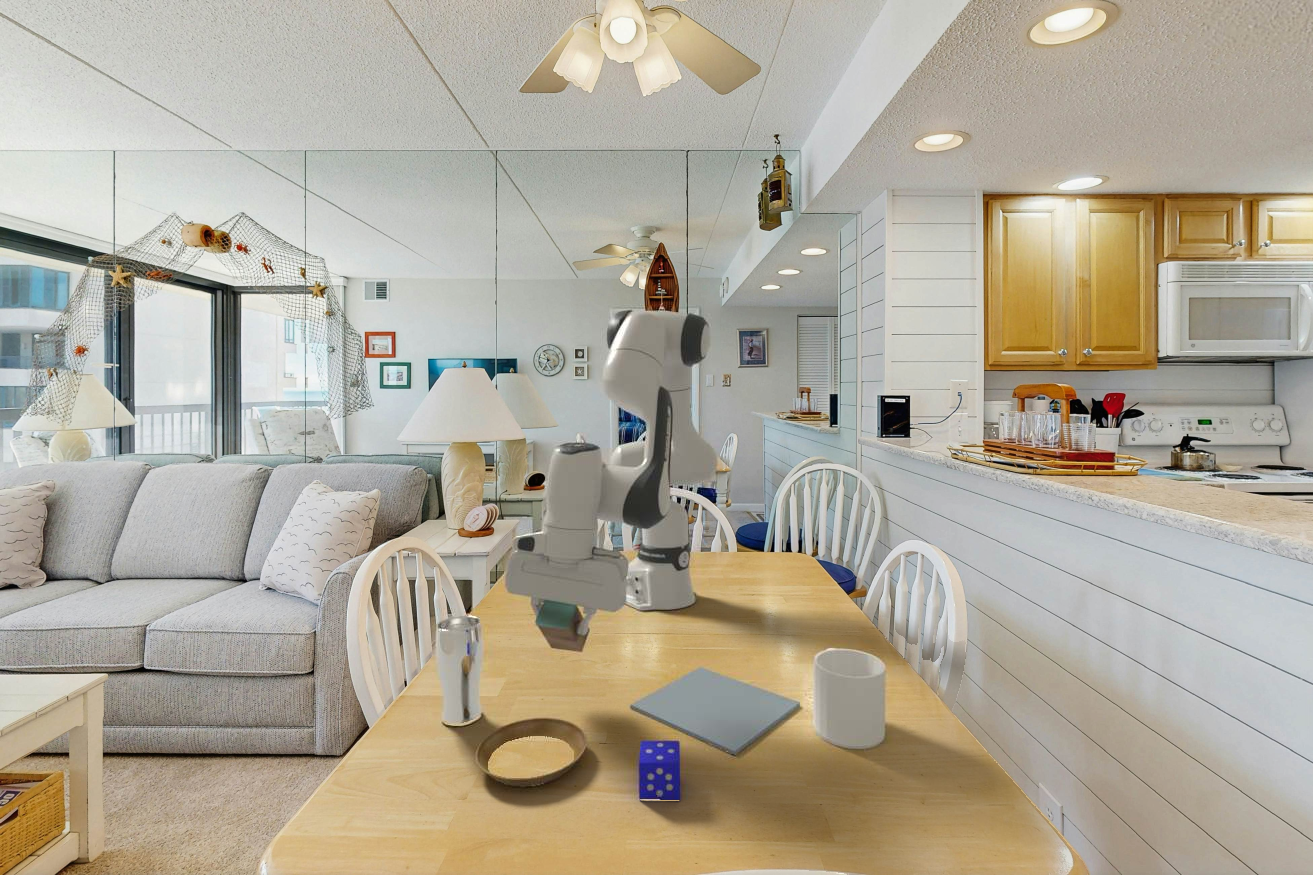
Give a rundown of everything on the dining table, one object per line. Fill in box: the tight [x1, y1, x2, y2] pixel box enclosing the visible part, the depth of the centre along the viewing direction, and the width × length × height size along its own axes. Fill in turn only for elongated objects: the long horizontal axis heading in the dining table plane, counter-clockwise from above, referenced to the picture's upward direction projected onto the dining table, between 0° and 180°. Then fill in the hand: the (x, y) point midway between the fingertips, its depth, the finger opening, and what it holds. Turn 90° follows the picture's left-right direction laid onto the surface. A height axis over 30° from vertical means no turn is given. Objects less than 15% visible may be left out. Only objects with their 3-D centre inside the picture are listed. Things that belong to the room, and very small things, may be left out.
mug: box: [813, 647, 887, 750], centre depth 91 cm, size 13×10×10 cm
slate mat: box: [629, 666, 801, 756], centre depth 98 cm, size 20×18×1 cm
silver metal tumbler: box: [435, 615, 484, 723], centre depth 95 cm, size 7×7×15 cm
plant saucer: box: [475, 717, 588, 787], centre depth 83 cm, size 15×15×3 cm
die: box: [638, 740, 681, 801], centre depth 77 cm, size 5×5×5 cm
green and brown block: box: [534, 600, 591, 653], centre depth 99 cm, size 4×6×8 cm
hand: (561, 629), depth 98 cm, fingers closed on green and brown block, 6 cm apart
